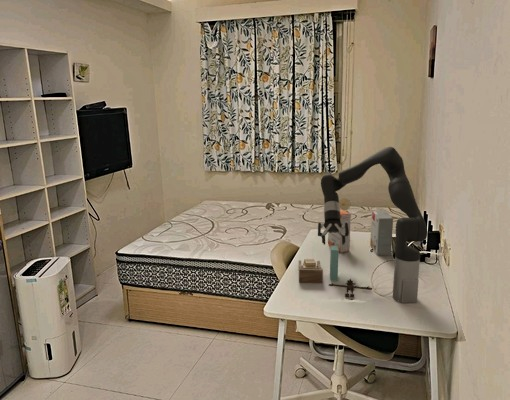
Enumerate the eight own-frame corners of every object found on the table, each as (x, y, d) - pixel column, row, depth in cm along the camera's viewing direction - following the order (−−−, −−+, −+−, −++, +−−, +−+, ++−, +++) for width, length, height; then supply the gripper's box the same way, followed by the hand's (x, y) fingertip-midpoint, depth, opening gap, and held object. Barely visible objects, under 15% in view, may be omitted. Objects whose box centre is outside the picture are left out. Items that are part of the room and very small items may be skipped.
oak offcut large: (316, 273, 195) (316, 268, 194) (303, 272, 195) (303, 267, 194) (315, 267, 201) (315, 262, 201) (302, 267, 202) (303, 262, 201)
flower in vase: (324, 238, 245) (325, 196, 240) (337, 234, 252) (338, 193, 247) (342, 244, 235) (344, 200, 230) (355, 240, 243) (357, 197, 237)
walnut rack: (322, 285, 184) (322, 270, 182) (299, 284, 185) (299, 269, 183) (319, 267, 203) (320, 253, 202) (298, 267, 204) (298, 253, 203)
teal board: (337, 282, 187) (338, 250, 183) (330, 282, 187) (331, 250, 183) (336, 277, 192) (337, 245, 189) (329, 277, 193) (330, 245, 189)
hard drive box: (369, 245, 234) (371, 210, 229) (383, 245, 233) (385, 210, 229) (376, 255, 218) (378, 218, 214) (391, 255, 218) (394, 218, 214)
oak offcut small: (315, 266, 195) (315, 262, 195) (305, 267, 195) (305, 262, 195) (313, 262, 200) (313, 258, 200) (304, 262, 200) (304, 258, 200)
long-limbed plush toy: (326, 291, 172) (329, 274, 185) (326, 301, 173) (329, 283, 187) (373, 295, 168) (372, 278, 181) (372, 305, 169) (371, 286, 183)
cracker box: (327, 244, 236) (328, 207, 231) (337, 243, 237) (338, 207, 233) (339, 253, 223) (340, 214, 218) (349, 251, 224) (351, 213, 220)
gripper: (346, 216, 208) (348, 247, 200) (316, 216, 209) (317, 247, 201) (348, 209, 201) (350, 241, 194) (317, 209, 202) (318, 241, 195)
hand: (333, 244), depth 197 cm, fingers open, 8 cm apart
